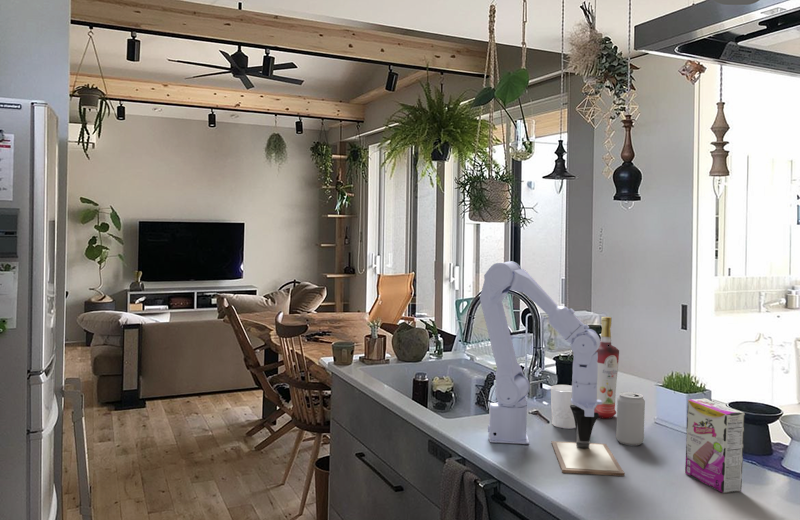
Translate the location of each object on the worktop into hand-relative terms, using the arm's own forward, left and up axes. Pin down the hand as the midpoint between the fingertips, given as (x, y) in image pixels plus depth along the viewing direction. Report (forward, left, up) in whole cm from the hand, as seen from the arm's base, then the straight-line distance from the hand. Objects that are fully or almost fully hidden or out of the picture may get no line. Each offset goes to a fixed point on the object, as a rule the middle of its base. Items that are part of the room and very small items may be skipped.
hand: (583, 438), depth 154 cm
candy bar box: (+24, -16, -3) cm, 29 cm away
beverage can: (+13, +8, -3) cm, 15 cm away
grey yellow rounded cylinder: (0, 0, -2) cm, 2 cm away
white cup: (-1, +20, -3) cm, 20 cm away
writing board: (0, -5, -3) cm, 6 cm away
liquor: (+11, +30, -3) cm, 32 cm away
